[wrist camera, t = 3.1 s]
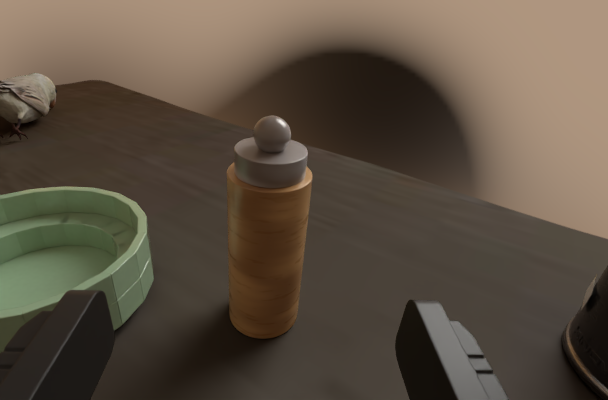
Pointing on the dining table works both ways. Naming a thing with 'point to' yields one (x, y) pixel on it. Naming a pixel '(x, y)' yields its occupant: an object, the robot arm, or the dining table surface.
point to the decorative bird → (26, 99)
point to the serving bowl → (70, 252)
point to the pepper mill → (267, 229)
